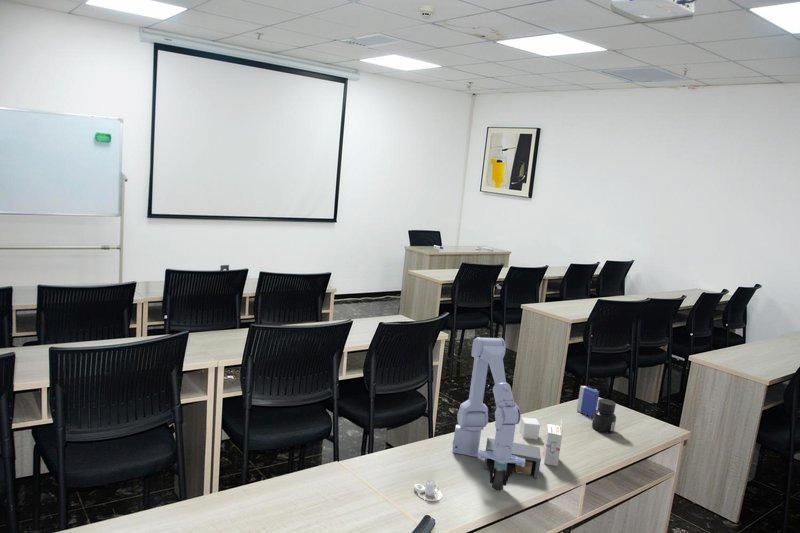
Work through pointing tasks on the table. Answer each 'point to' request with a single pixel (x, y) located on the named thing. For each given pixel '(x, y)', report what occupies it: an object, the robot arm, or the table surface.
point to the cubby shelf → (520, 454)
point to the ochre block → (524, 469)
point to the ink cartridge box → (552, 444)
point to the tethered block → (499, 475)
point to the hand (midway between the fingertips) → (498, 483)
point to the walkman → (587, 400)
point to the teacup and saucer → (428, 489)
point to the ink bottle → (604, 416)
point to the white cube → (529, 428)
